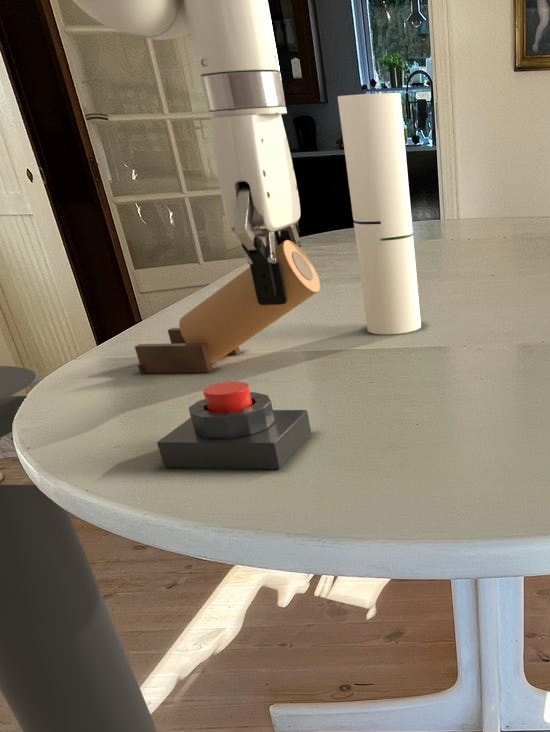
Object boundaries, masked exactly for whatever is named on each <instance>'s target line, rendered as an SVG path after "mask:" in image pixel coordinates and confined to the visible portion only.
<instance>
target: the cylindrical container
mask: <svg viewBox="0 0 550 732" xmlns="http://www.w3.org/2000/svg"><path fill="white" fill-rule="evenodd" d="M337 103H338V111H339V118H340V127H341V135H342V143H343V149H344V157H345V163H346V164H345V165H346V173H347V182H348V190H349V197H350V204H351V213H352V219H353V228H354V235H355V243H356V250H357V251H356V252H357V259H358V266H359V274H360V275H359V276H360V282H361V289H362V290H361V291H362V298H363V305H364V306H363V307H364V313H365V320H366V321H365V322H366V327H367V328H366V330H367V332H369V333H371V334H375V335H400V334H406V333H411V332H414V331H417V330H420V328H422V321H421V311H420V300H419V299H420V298H419V288H418V287H419V286H418V277H417V276H418V275H417V265H416V264H417V263H416V253H415V243H414V242H415V241H414V234H413V219H412V209H411V198H410V197H411V196H410V187H409V184H410V183H409V175H408V174H409V173H408V164H407V162H408V161H407V152H406V140H405V130H404V129H405V128H404V120H403V119H404V118H403V117H404V116H403V106H402V97H401V92H385V93H384V92H380V93H379V92H378V93H361V94H348V95H347V94H346V95H338V96H337Z"/></svg>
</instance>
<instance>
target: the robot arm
mask: <svg viewBox="0 0 550 732" xmlns="http://www.w3.org/2000/svg"><path fill="white" fill-rule="evenodd" d="M71 1H72V2H73V3H74V4H76V6H78V7H79V8H80V9H81V10H82V11H83V12H84V13H86V14H87V15H88V16H90V17H91V18H92V19H93V20H95V21H97V22H98V23H100V24H101V25H104V27H106V28H109V29H112V30H115V31H118V32H122V33H127V34H132V35H135V36H138V37H142V38H146V39H149V40H150V39H151V40H155V41H166V40H171V39H176V38H179V37H184V36H187V35H190V37H191V41H192V46H193V50H194V54H195V60H196V64H197V68H198V73H199V76H200V81H201V86H202V91H203V96H204V100H205V105H206V109H207V112H208V118H209V119H210V121H211V122H210V124H211V126H210V127H211V137H212V148H213V155H214V162H215V167H216V174H217V179H218V185H219V191H220V196H221V199H222V200H221V201H222V207H223V212H224V216H225V221H226V224H227V228H228V229H229V230H230V232H232V233H233V234H235V235H236V237H237V239H238V240H239V241H240V243H241V247H242V248H243V250H244V251H245V254H246V255H245V256H246V262H247V264H248V265H249V267H250V268H251V273H252V277H253V282H254V286H255V291H256V296H257V300H258V303H259V304H260V305H282V304H285V303H287V295H286V289H285V284H284V279H283V274H282V269H281V264H280V262H277V263H276V251H275V248H276V247H277V246H278V245H280V244H281V243H283V242H284V241H285V240H289V241H292V242H293V243H295V244H296V245H297V246H298V247H300V249H301V250H302V251H303V249H302V243H301V240H300V239H301V238H300V236H299V234H300V226H299V220H300V218H301V203H300V196H299V190H298V189H299V188H298V185H297V178H296V174H295V168H294V164H293V158H292V155H291V150H290V146H289V141H288V137H287V133H286V129H285V126H284V121H283V117H282V115H287V113H288V111H287V107H286V99H285V94H284V89H283V82H282V76H281V71H280V65H279V59H278V58H279V57H278V53H277V52H278V51H277V47H276V41H275V35H274V29H273V24H272V18H271V13H270V12H271V11H270V6H269V1H268V0H71ZM261 227H265V228H261ZM279 232H280V233H279ZM262 239H265V243H264V242H263V240H262Z"/></svg>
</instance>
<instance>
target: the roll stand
mask: <svg viewBox="0 0 550 732" xmlns="http://www.w3.org/2000/svg"><path fill="white" fill-rule="evenodd" d="M167 333H168V337H169V341H170V343H138V344H137V345H134V349H135V350H134V351H135V354H136V356H137V359H138V364H137V368H138V371H139V374H209V373H211V372H212V371H213V370H214V368H213V365H212V364H213V363H211V360H210V356H209V352H208V348H207V344H206V343H186V342H185V340H184V338H183V336H182V334H181V331H180V327H171V328H169V329H167ZM239 353H241V351H240V346H239V347H237V348H236V349H234V350H233V351H231V352H230V353H228V354H227V355H226V356H228V355H230V356H232V355H234V356H236V355H238V354H239Z"/></svg>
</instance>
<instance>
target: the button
mask: <svg viewBox="0 0 550 732" xmlns="http://www.w3.org/2000/svg"><path fill="white" fill-rule="evenodd" d="M250 392H251V391H250V386H249V384H248V383H246V382H244V381H224V382H223V381H222V382H218V383H213V384H211V385H209V386H207V387H205V388H204V389H203V390H202V393H203V397H204V399H205V400H206V404H207V408H208V411H209V412H213V413H226V412H232V411H239V410H242V409H245V408H248V407H251V406H252V405H253V403H252V399H251V395H250Z"/></svg>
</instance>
